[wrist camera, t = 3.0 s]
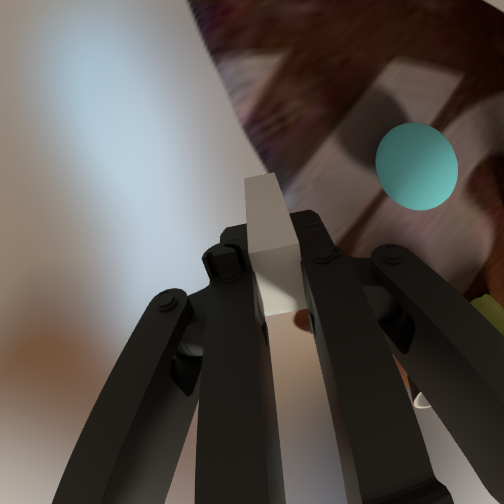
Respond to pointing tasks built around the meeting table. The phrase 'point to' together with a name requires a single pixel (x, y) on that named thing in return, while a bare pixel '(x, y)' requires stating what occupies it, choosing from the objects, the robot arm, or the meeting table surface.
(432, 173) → the ball
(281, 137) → the meeting table surface
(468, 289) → the meeting table surface
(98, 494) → the robot arm
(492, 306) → the plant pot
